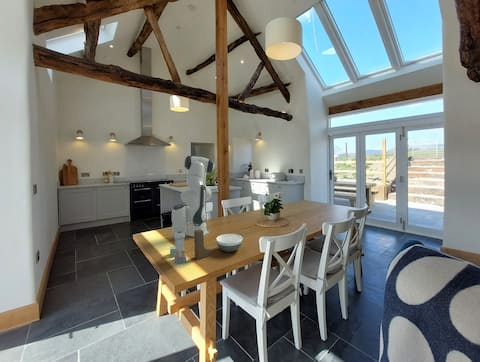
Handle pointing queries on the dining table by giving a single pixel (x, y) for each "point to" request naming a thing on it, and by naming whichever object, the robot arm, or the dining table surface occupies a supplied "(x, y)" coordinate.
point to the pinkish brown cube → (180, 256)
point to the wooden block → (200, 245)
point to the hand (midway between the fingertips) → (180, 252)
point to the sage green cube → (172, 251)
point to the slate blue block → (180, 260)
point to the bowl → (229, 242)
